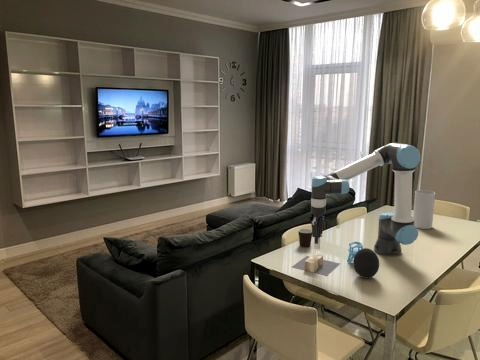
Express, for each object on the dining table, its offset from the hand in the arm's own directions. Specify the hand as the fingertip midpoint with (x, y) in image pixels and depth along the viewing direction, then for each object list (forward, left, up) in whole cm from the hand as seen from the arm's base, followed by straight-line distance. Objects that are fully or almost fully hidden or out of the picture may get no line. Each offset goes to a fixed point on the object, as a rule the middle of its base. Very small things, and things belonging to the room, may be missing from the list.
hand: (317, 248), depth 208 cm
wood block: (0, -2, -7) cm, 7 cm away
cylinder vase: (-34, -104, -10) cm, 110 cm away
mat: (0, +1, -10) cm, 10 cm away
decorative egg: (-26, -1, -10) cm, 28 cm away
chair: (-16, -15, -10) cm, 24 cm away
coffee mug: (+18, -25, -10) cm, 32 cm away
